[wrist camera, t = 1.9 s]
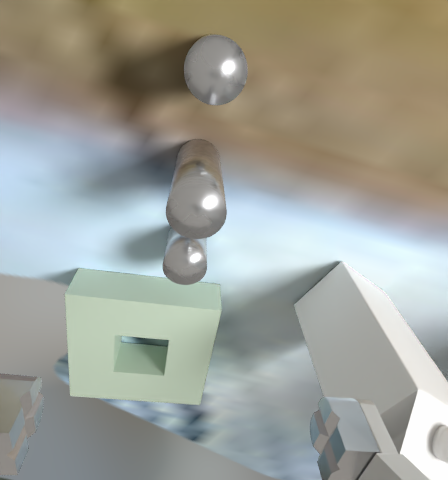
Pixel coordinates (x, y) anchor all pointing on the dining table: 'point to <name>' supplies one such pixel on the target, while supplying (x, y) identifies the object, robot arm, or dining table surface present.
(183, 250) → the short pin
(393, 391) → the milk carton
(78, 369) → the socket block
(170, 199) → the tall pin
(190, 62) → the medium pin
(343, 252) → the dining table surface
